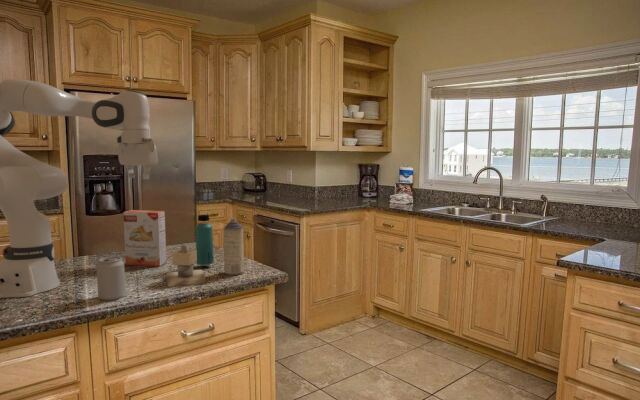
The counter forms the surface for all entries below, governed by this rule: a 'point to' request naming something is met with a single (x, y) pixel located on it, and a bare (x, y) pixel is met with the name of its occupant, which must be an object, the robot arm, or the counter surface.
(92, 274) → the counter surface
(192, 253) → the collar
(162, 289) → the counter surface
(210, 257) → the beverage bottle
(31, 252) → the robot arm
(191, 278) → the shaft stand
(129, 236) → the cracker box
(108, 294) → the can
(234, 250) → the aerosol can
